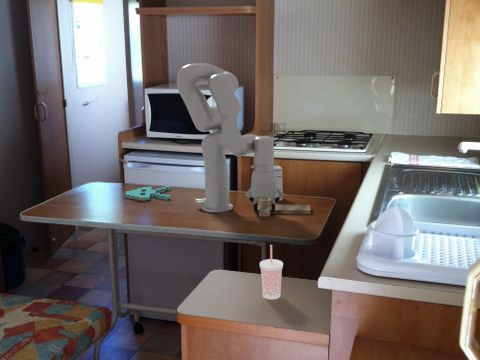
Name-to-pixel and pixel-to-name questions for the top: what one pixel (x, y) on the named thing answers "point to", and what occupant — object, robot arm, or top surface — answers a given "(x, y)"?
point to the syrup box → (278, 180)
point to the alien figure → (148, 193)
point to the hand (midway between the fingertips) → (264, 212)
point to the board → (290, 209)
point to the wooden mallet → (264, 207)
